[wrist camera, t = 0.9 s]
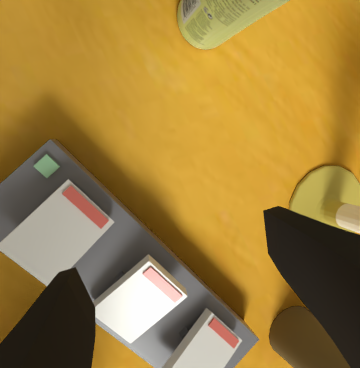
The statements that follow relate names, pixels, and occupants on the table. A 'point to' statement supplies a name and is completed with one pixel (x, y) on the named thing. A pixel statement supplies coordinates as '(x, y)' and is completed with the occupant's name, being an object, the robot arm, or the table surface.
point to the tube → (219, 19)
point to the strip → (117, 252)
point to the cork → (304, 340)
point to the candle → (329, 198)
